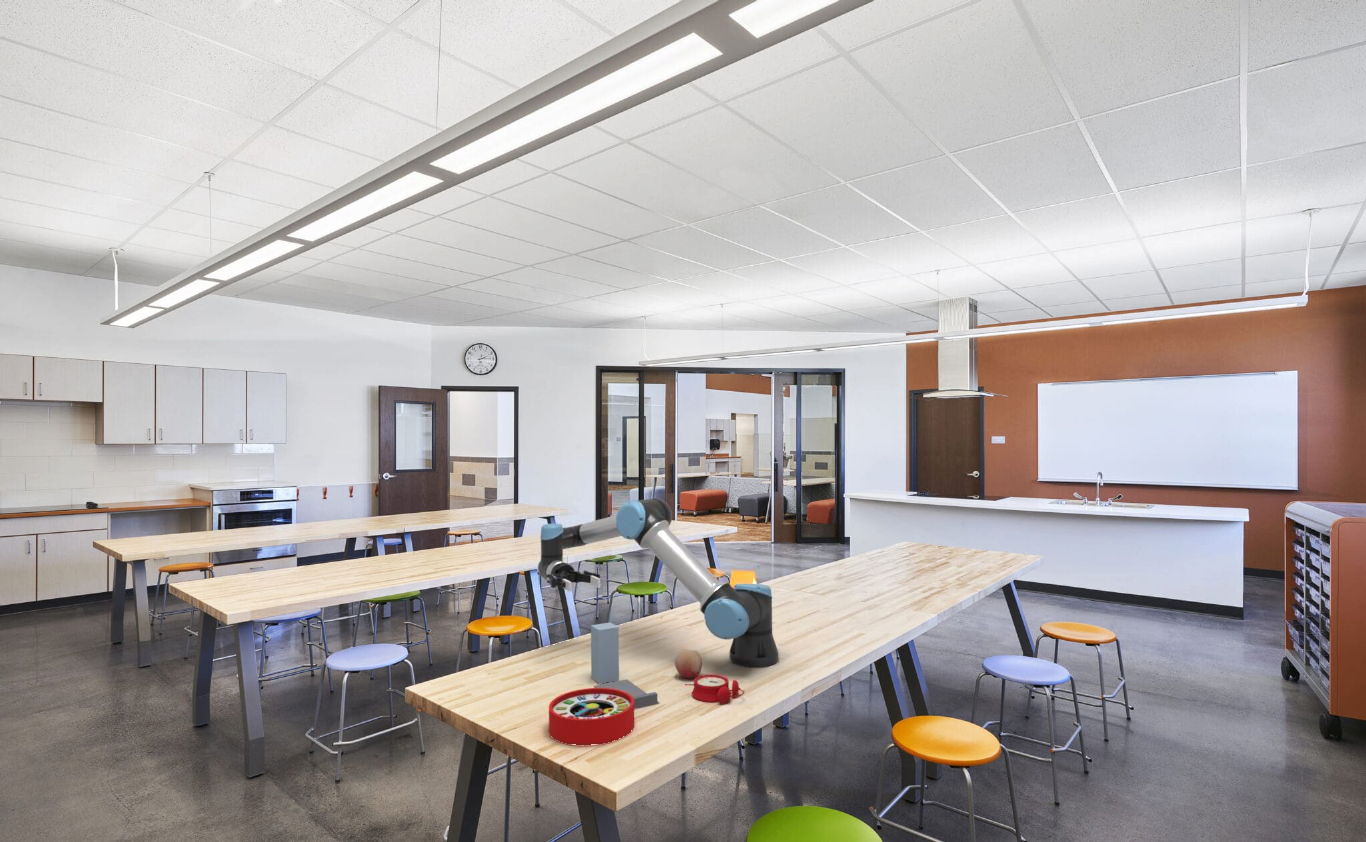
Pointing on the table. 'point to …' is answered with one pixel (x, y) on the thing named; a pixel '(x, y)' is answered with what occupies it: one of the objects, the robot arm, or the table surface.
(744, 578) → the orange juice
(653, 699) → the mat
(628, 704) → the toy clock
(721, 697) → the alarm clock
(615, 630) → the blue-grey rectangular block
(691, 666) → the fruit
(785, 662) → the table surface
